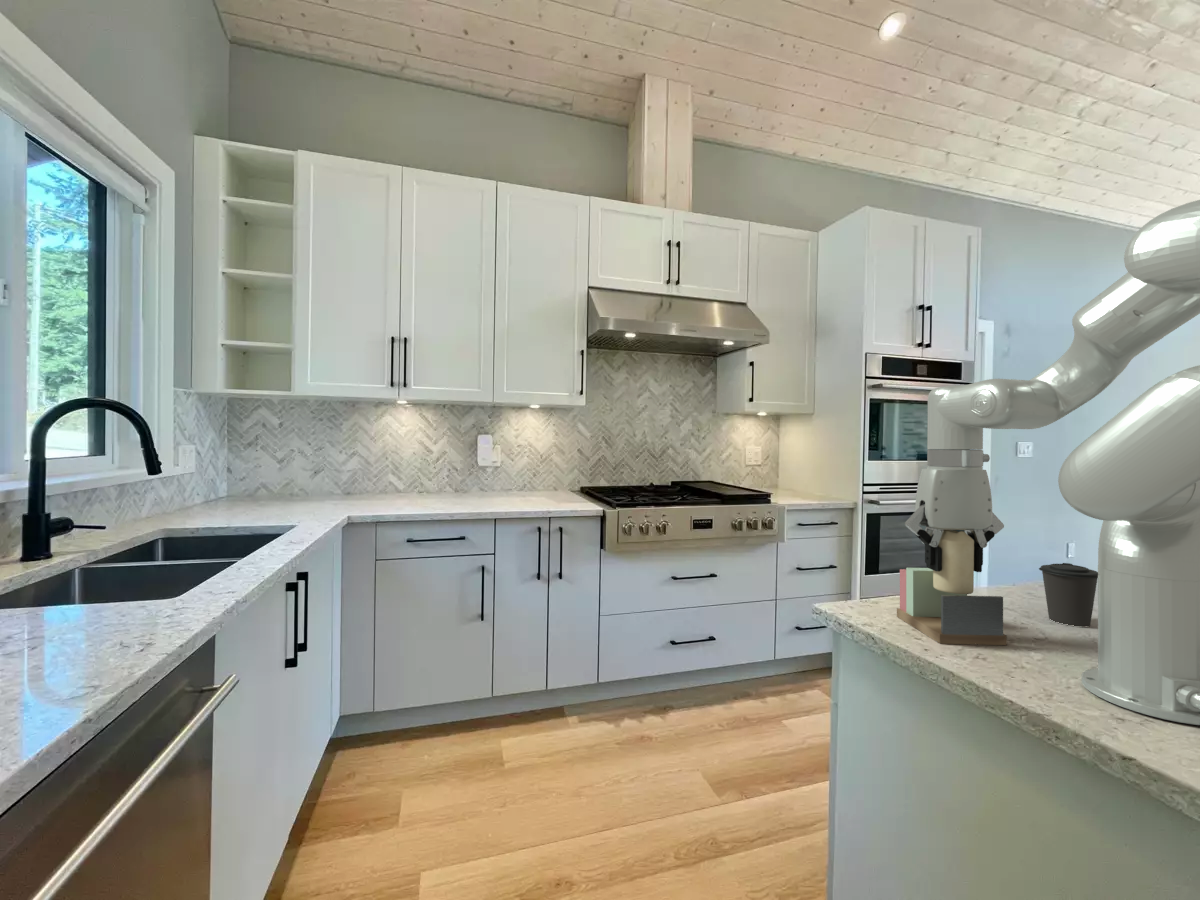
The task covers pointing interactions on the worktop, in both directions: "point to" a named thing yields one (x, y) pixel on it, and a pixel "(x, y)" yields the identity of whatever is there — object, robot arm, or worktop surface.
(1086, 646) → the worktop surface
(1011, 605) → the worktop surface
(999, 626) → the bookend
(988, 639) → the brown wooden board
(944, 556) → the candle
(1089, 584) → the coffee cup
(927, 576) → the books
